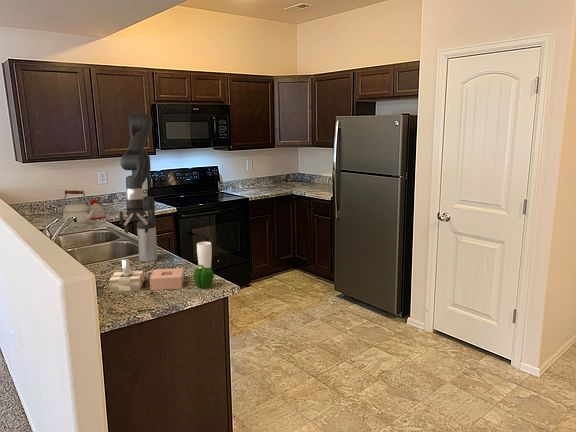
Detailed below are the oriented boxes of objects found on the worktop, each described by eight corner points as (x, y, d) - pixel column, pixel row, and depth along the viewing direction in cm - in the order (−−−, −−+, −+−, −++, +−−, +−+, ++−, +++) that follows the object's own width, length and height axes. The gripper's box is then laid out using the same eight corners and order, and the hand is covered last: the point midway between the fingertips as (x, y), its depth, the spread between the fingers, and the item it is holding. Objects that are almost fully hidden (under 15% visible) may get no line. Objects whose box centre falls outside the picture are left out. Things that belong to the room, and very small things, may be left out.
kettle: (55, 226, 313) (51, 191, 309) (72, 221, 331) (68, 188, 326) (87, 228, 309) (84, 192, 305) (102, 222, 327) (100, 189, 322)
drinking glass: (207, 271, 213) (206, 240, 210) (215, 274, 208) (214, 243, 205) (195, 274, 208) (193, 243, 206) (203, 277, 204) (202, 245, 201)
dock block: (154, 280, 201) (153, 269, 200) (183, 278, 203) (183, 268, 202) (150, 290, 188) (149, 278, 187) (181, 288, 190) (181, 277, 189)
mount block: (115, 282, 198) (115, 271, 197) (143, 281, 199) (143, 270, 198) (109, 292, 186) (108, 280, 185) (139, 290, 188) (138, 279, 187)
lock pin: (124, 285, 194) (122, 259, 192) (131, 285, 194) (129, 258, 192) (123, 287, 191) (121, 260, 189) (130, 287, 191) (128, 260, 189)
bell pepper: (217, 284, 195) (216, 262, 193) (209, 290, 187) (208, 267, 185) (199, 282, 197) (198, 261, 195) (191, 289, 189) (190, 266, 187)
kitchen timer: (81, 219, 340) (80, 200, 337) (94, 216, 353) (92, 197, 350) (97, 220, 336) (95, 200, 333) (109, 217, 349) (107, 198, 346)
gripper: (151, 197, 210) (153, 231, 212) (120, 198, 208) (122, 232, 209) (149, 198, 203) (151, 233, 204) (116, 199, 200) (118, 234, 202)
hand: (136, 233), depth 207 cm, fingers open, 8 cm apart
